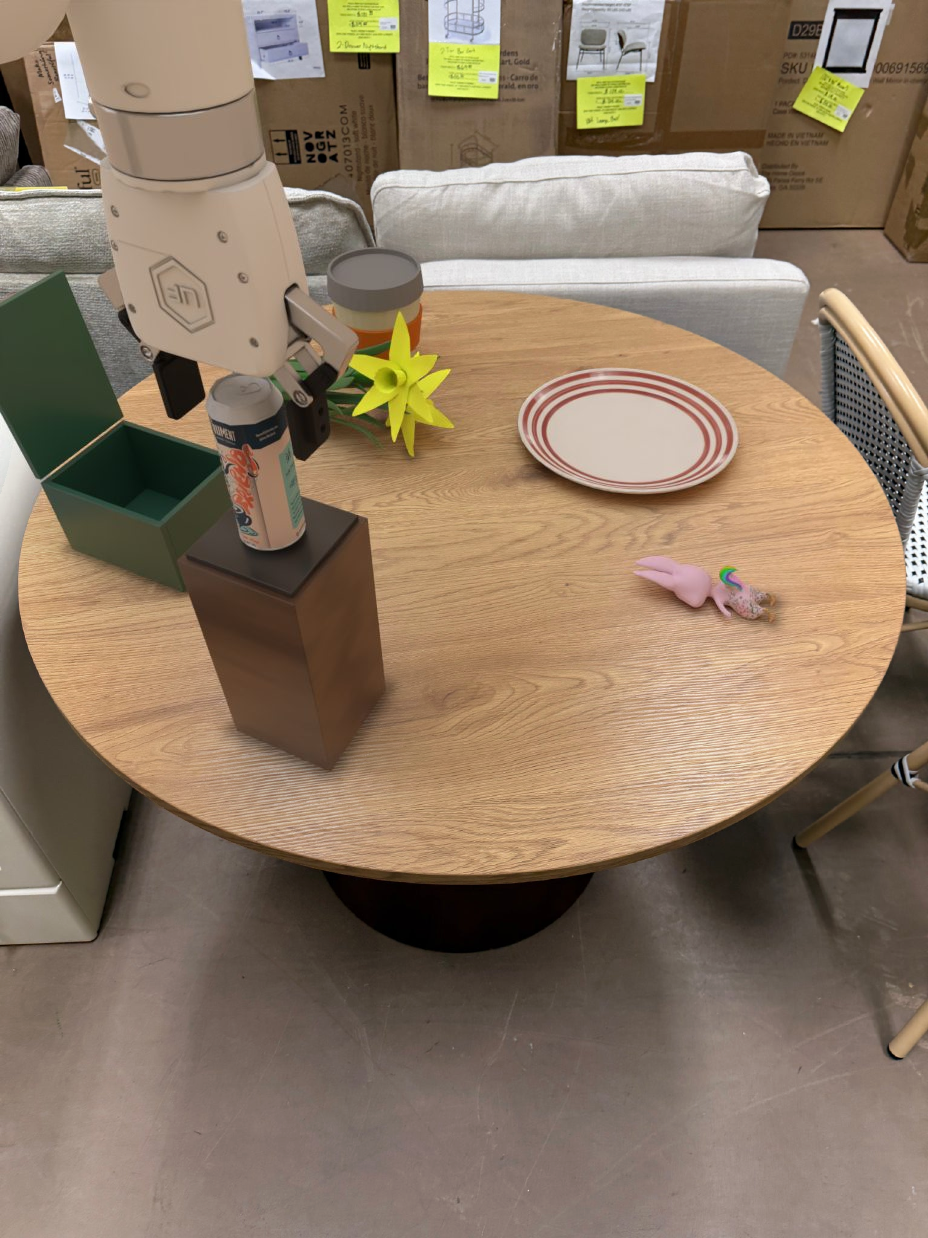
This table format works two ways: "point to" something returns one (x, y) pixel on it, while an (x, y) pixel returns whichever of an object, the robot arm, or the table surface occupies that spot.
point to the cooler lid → (51, 375)
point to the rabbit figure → (705, 586)
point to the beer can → (257, 460)
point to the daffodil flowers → (385, 387)
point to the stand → (292, 630)
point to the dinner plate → (628, 430)
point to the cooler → (139, 500)
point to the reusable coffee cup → (376, 294)
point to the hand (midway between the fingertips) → (248, 427)
